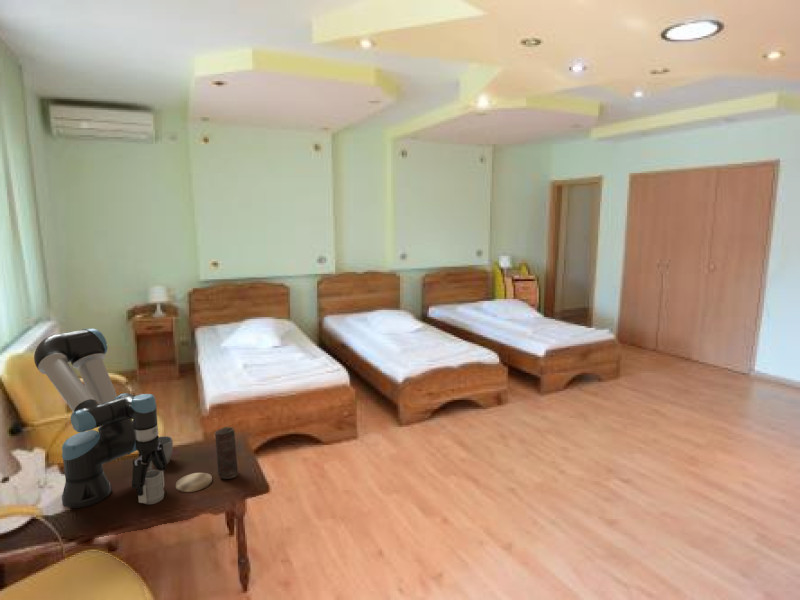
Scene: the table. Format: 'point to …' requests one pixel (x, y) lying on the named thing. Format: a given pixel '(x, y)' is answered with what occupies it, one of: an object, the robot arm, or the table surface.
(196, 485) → the coaster
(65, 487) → the robot arm
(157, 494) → the mug
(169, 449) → the mug
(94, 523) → the table surface
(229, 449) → the candle
